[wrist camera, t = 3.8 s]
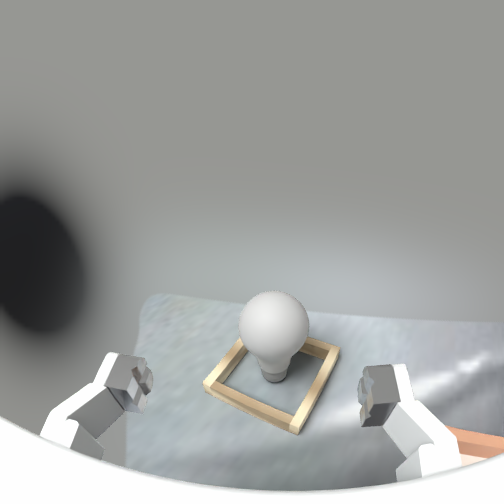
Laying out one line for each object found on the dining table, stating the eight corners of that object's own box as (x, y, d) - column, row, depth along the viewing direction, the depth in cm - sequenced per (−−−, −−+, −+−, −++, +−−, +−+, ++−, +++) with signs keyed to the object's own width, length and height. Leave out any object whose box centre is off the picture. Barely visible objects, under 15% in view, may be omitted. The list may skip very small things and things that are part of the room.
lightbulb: (269, 411, 28) (266, 341, 22) (234, 372, 32) (220, 296, 26) (315, 378, 30) (327, 302, 24) (278, 345, 35) (278, 268, 29)
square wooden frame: (256, 328, 37) (255, 318, 36) (338, 357, 32) (340, 347, 31) (205, 392, 30) (202, 382, 29) (297, 435, 25) (298, 427, 24)
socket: (417, 424, 24) (430, 407, 22) (522, 445, 18) (540, 429, 16) (366, 553, 14) (378, 552, 12) (494, 565, 8) (517, 560, 6)
